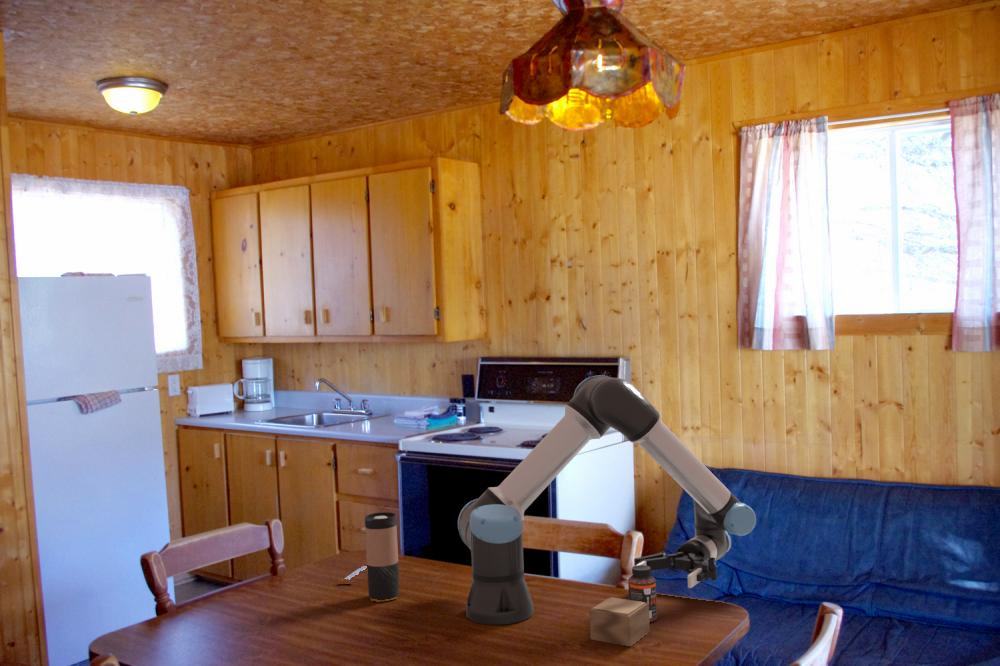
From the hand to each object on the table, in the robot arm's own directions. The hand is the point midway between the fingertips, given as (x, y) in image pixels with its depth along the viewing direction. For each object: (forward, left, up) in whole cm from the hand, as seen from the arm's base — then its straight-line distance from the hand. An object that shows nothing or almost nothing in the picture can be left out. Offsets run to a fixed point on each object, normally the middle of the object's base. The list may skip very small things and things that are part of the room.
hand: (660, 577), depth 196 cm
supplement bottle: (0, -10, -7) cm, 12 cm away
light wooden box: (0, -20, -6) cm, 22 cm away
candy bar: (-81, -13, -7) cm, 82 cm away
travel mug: (-62, -24, -7) cm, 67 cm away
